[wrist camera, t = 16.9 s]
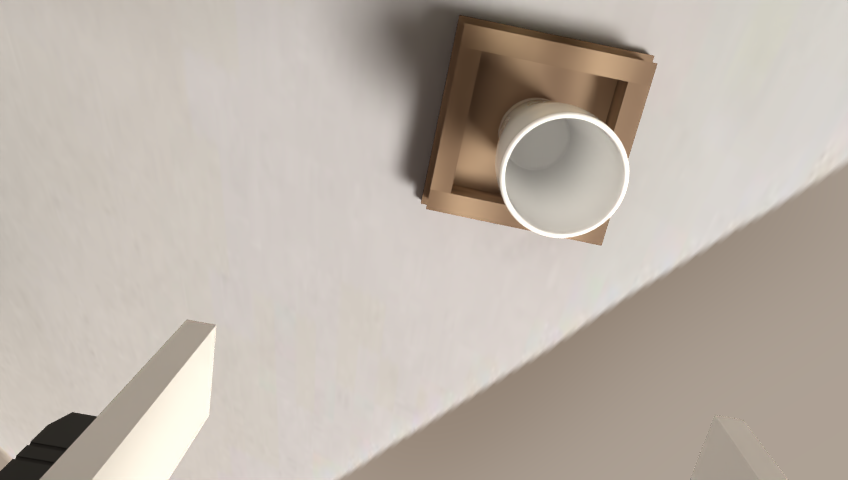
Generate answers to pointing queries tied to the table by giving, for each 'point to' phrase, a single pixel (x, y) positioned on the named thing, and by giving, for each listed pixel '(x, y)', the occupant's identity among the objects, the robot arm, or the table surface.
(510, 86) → the walnut dock
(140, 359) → the table surface
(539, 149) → the drinking glass
